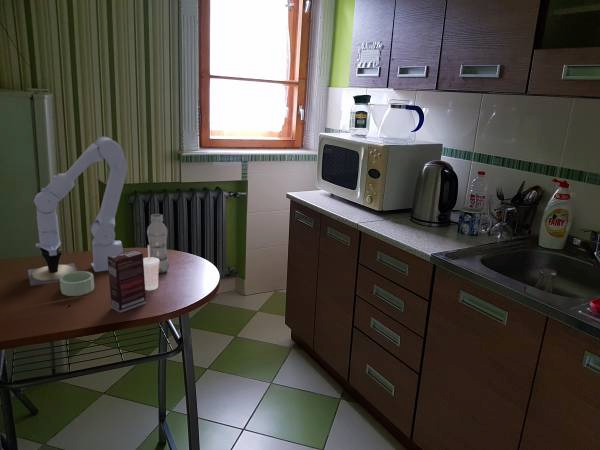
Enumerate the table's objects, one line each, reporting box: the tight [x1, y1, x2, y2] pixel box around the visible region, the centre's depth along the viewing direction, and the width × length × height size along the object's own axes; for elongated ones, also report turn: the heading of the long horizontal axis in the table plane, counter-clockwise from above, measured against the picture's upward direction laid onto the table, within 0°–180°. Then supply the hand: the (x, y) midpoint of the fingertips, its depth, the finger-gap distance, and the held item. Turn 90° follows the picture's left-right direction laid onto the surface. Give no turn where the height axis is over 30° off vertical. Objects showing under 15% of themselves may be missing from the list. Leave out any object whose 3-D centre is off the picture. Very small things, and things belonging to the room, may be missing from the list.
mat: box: [27, 262, 78, 287], centre depth 153 cm, size 14×14×1 cm
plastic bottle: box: [146, 213, 170, 274], centre depth 157 cm, size 6×7×20 cm
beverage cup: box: [143, 244, 160, 291], centre depth 146 cm, size 6×6×14 cm
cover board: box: [32, 264, 74, 281], centre depth 153 cm, size 12×12×4 cm
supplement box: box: [107, 249, 147, 314], centre depth 133 cm, size 9×5×16 cm, turn 141°
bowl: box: [59, 270, 95, 298], centre depth 143 cm, size 9×9×4 cm
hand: (53, 269), depth 153 cm, fingers open, 3 cm apart
